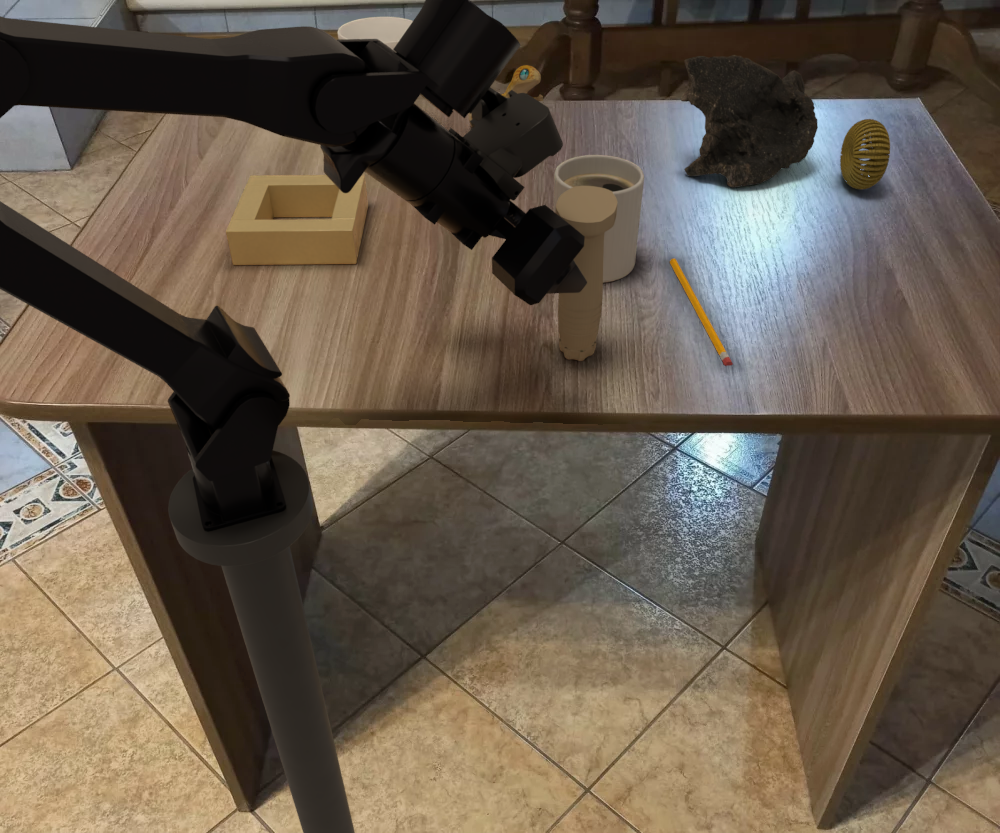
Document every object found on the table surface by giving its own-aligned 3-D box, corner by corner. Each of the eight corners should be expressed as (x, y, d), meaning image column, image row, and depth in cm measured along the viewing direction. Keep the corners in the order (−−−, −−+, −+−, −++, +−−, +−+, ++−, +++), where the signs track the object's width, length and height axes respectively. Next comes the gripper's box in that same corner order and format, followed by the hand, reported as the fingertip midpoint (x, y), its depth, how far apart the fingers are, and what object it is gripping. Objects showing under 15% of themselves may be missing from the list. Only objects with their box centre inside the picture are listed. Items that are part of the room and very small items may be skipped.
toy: (524, 149, 109) (518, 62, 107) (448, 156, 121) (441, 77, 118) (562, 147, 113) (558, 62, 111) (486, 154, 125) (480, 77, 122)
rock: (783, 190, 120) (797, 69, 116) (819, 191, 107) (836, 56, 104) (658, 185, 119) (667, 63, 115) (680, 185, 107) (691, 49, 103)
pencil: (723, 368, 82) (725, 361, 81) (669, 264, 96) (669, 258, 95) (732, 367, 82) (733, 361, 81) (676, 263, 96) (677, 258, 95)
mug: (624, 289, 91) (634, 199, 85) (534, 274, 94) (537, 184, 87) (646, 239, 99) (656, 152, 93) (562, 226, 101) (566, 140, 95)
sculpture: (882, 201, 106) (902, 135, 101) (848, 201, 106) (866, 135, 101) (862, 171, 112) (880, 108, 107) (830, 171, 112) (846, 108, 107)
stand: (356, 264, 95) (352, 230, 93) (232, 265, 95) (225, 231, 92) (368, 206, 105) (364, 174, 102) (256, 207, 105) (250, 175, 102)
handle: (543, 368, 81) (549, 218, 71) (558, 329, 86) (565, 183, 76) (596, 377, 80) (609, 225, 71) (608, 336, 85) (622, 189, 75)
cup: (443, 130, 122) (439, 26, 113) (392, 157, 115) (383, 49, 106) (385, 112, 126) (376, 11, 118) (332, 137, 120) (319, 32, 111)
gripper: (566, 115, 56) (685, 231, 67) (435, 31, 69) (554, 141, 80) (458, 258, 58) (590, 347, 70) (350, 151, 71) (477, 241, 82)
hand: (552, 260), depth 75 cm, fingers open, 9 cm apart
